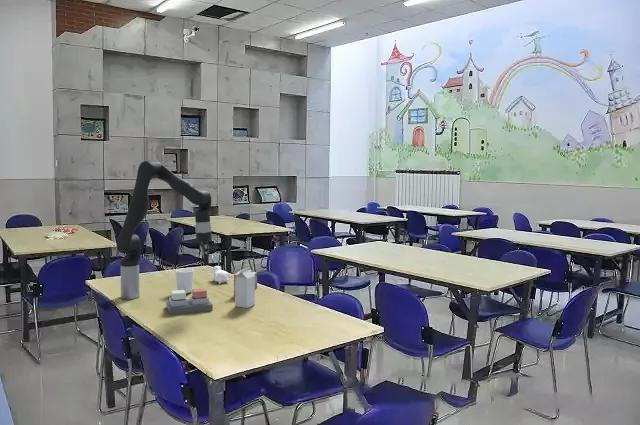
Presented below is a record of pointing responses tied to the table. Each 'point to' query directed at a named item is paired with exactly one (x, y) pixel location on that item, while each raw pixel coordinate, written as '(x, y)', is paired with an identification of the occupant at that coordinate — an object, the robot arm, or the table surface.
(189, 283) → the cup
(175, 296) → the ivory key
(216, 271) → the white animal figurine
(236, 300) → the milk carton
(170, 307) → the key base
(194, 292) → the red key
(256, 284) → the gray gift bag
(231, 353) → the table surface
